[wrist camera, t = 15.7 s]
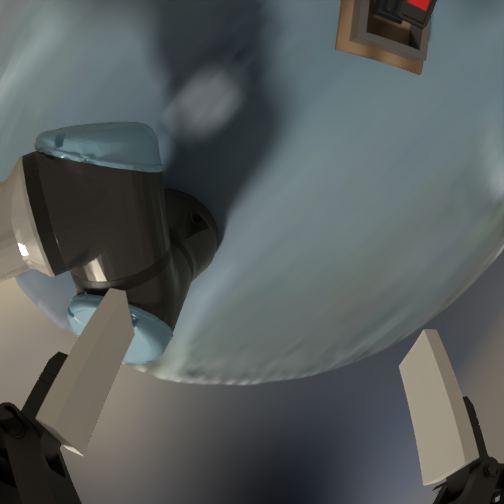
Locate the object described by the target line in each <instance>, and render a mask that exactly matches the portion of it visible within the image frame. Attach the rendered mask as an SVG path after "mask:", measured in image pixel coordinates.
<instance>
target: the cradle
mask: <svg viewBox="0 0 504 504" xmlns="http://www.w3.org/2000/svg"><path fill="white" fill-rule="evenodd" d="M369 2H370V0H354V6H353V15H352V23H351V31H350V39H349V41H350V42H354V43H358V44H362V45H365V46H369V47H372V48H376V49H379V50H382V51H385V52H388V53H391V54H394V55H397V56H400V57H403V58H406V59H408V60H411V61H425V60H426V56H427V48H428V40H429V30H430V19H431V17H430V19H429V22H428V24H427V26H426V27H425V28H424V29H423V30H422V29H420V28H418V27H416V26H414V25H412V24H411V26H410V35H409V43H408V46H407V45H404V44H401V43H399V42H396V41H393V40H390V39H387V38H384V37H381V36H377V35H374V34H371V33H367V32H366V29H367V20H368V12H369Z"/></svg>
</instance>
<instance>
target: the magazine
mask: <svg viewBox="0 0 504 504" xmlns="http://www.w3.org/2000/svg"><path fill="white" fill-rule="evenodd" d="M436 1H437V0H376V1H375V6H374V11H373V14H374V15H376V16H379V17H382V18H384V19H387V20H389V21H391V22H395V23H398V24H402V21H405V22H408V23H410V24H412V25H414V26H416V27H418V28H420V29H422V30H423V29H424V28H425V27H426V26H427V24H428V22H429V19H430V17H431V14H432V12H433V9H434V7H435V4H436Z"/></svg>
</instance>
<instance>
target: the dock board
mask: <svg viewBox="0 0 504 504" xmlns="http://www.w3.org/2000/svg"><path fill="white" fill-rule="evenodd" d="M375 1H376V0H370V2H369V12H368V20H367V29H366V32H367V33H371V34H374V35H377V36H381V37H384V38H387V39H390V40H393V41H396V42H399V43H401V44H404V45H407V46H408V43H409V35H410V26H411V24H410V23H408V22H405V21H402V24H398V23H395V22H391V21H389V20H387V19H384V18H382V17H379V16H376V15H374V14H373V11H374V6H375ZM353 6H354V0H341V5H340V14H339V22H338V30H337V37H336V44H335V50H339V51H343V52H347V53H351V54H355V55H359V56H363V57H366V58H370V59H373V60H377V61H380V62H383V63H386V64H390V65H393V66H396V67H399V68H402V69H404V70H407V71H410V72H413V73H415V74H418V75H421V71H422V65H423V61H411V60H408V59H406V58H403V57H400V56H397V55H394V54H391V53H388V52H385V51H382V50H379V49H376V48H372V47H369V46H365V45H362V44H358V43H354V42H350V41H349V39H350V31H351V23H352V15H353Z"/></svg>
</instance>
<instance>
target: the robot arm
mask: <svg viewBox="0 0 504 504" xmlns="http://www.w3.org/2000/svg"><path fill="white" fill-rule="evenodd" d="M35 149H36V150H37V151H35V152H32V153H29V154H27V155H24V156H21V157H19V159H18V161H17V163H16V165H15V166H14V168H13V170H12V172H11V174H10V176H9V177H8V178H7V179H6V180H5V181H2V182H0V283H1V282H3V281H5V280H7V279H9V278H12V277H14V276H16V275H18V274H20V273H23V272H25V271H27V270H29V269H37V270H39V271H41V272H43V273H45V274H47V275H49V276H51V277H54V276H57V275H59V274H61V273H64V272H66V271H69V270H70V272H71V275H72V278H73V280H74V283H75V286H76V288H77V294H76V295H75V296H74V297H73V298H72V299H71V300H70V306H69V307H68V310H67V317H68V321H69V323H70V325H71V327H72V329H73V330H74V331H75V333H76V334H77V335H78V336H79V338H78V340H77V341H76V343H75V345H74V346H73V348H72V350H71V352H70V353H69V355H67V354H64V353H61V352H58V353H57V354H55V355H54V356H53V357H52V358H51V359H50V360H49V361H48V363H47V365H46V366H45V368H44V370H43V372H42V373H41V375H40V377H39V380H37V382H36V384H35V386H34V388H33V390H32V391H31V394H30V395H29V397H28V399H27V401H26V403H25V405H24V407H23V409H22V410H21V411H20V410H19V409H18V408H17V407H16V406H15V405H14V404H12V403H2V404H0V504H82V503H81V501H80V499H79V497H78V495H77V492H76V490H75V488H74V485H73V483H72V480H71V478H70V475H69V473H68V470H67V467H66V465H65V462H64V459H63V456H62V453H61V451H60V446H61V444H62V445H63V446H65V447H66V448H67V449H69V450H71V451H73V452H75V453H77V454H80V455H82V456H84V454H85V452H86V449H87V446H88V443H89V441H90V438H91V436H92V433H93V430H94V428H95V425H96V423H97V420H98V418H99V415H100V413H101V410H102V408H103V405H104V403H105V401H106V398H107V396H108V393H109V391H110V389H111V386H112V384H113V382H114V379H115V377H116V375H117V372H118V370H119V368H120V366H121V364H122V362H127V363H133V364H144V363H150V362H152V361H153V360H156V359H158V358H160V357H161V356H162V354H163V353H164V351H165V349H166V347H167V345H168V343H169V341H170V340H171V339H172V337H173V331H174V328H175V325H176V322H177V319H178V317H179V314H180V311H181V309H182V306H183V303H184V300H185V298H186V295H187V292H188V290H189V287H190V284H191V282H192V281H193V280H194V279H195V278H196V277H197V276H198V275H200V274H201V273H202V272H203V271H204V270H205V269H206V268H207V267H208V266H209V265H210V263H211V261H212V260H213V257H214V255H215V252H216V249H217V245H218V231H217V227H216V224H215V221H214V219H213V217H212V216H211V214H210V213H209V211H208V210H207V209H206V208H205V207H204V206H203V205H202V204H201V203H200V202H199V201H198V200H196V199H195V198H193V197H191V196H190V195H187V194H185V193H182V192H179V191H174V190H164V182H163V172H162V171H164V167H163V165H162V164H161V160H160V153H159V146H158V139H157V135H156V133H155V131H154V130H153V129H152V128H151V127H150V126H148V125H146V124H144V123H139V122H106V123H93V124H84V125H76V126H69V127H64V128H59V129H55V130H51V131H46V132H43V133H40V134H39V135H38V137H37V138H36V143H35ZM399 369H400V372H401V376H402V380H403V384H404V388H405V392H406V396H407V400H408V404H409V409H410V413H411V418H412V422H413V427H414V432H415V437H416V442H417V448H418V453H419V459H420V465H421V472H422V479H423V485H428V484H432V483H436V482H438V481H440V480H442V479H444V478H446V479H447V481H446V482H444V483H442V484H440V485H438V486H437V487H435V488H434V489H433V492H435V491H437V490H439V489H441V490H440V491H438V492H437V493H436V494H438V495H437V497H436V499H435V501H434V503H433V504H504V464H501V463H498V462H497V460H496V459H495V458H493V457H489V456H488V454H487V451H486V447H485V443H484V439H483V436H482V432H481V429H480V426H479V425H478V424H479V422H478V419H477V418H476V412H475V410H474V406H473V404H472V403H471V402H470V400H469V399H468V397H467V396H466V397H462V395H461V392H460V389H459V386H458V383H457V380H456V377H455V375H454V372H453V369H452V367H451V365H450V362H449V359H448V357H447V354H446V352H445V349H444V347H443V344H442V342H441V340H440V337H439V335H438V332H437V330H428V329H424V330H423V331H422V333H421V335H420V336H419V338H418V339H417V341H416V342H415V344H414V345H413V347H412V348H411V350H410V351H409V353H408V354H407V355H406V357H405V359H404V360H403V361H402V363H401V364H400V365H399ZM499 495H500V500H499V501H498V502H495V497H497V496H499Z"/></svg>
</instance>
